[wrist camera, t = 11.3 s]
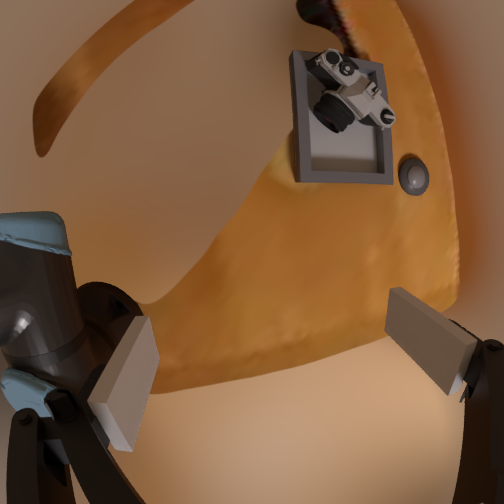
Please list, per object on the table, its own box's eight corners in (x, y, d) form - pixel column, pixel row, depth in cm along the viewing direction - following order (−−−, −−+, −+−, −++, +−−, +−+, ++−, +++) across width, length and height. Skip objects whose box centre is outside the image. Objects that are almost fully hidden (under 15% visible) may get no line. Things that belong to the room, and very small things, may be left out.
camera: (278, 89, 32) (299, 85, 25) (312, 51, 30) (341, 40, 22) (344, 147, 38) (376, 161, 30) (374, 111, 35) (410, 118, 28)
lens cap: (397, 194, 39) (402, 195, 38) (396, 157, 38) (401, 156, 37) (425, 195, 40) (430, 196, 38) (424, 160, 38) (429, 160, 37)
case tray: (295, 182, 38) (300, 182, 35) (288, 58, 33) (292, 50, 30) (383, 184, 39) (393, 184, 36) (374, 69, 34) (382, 63, 31)
